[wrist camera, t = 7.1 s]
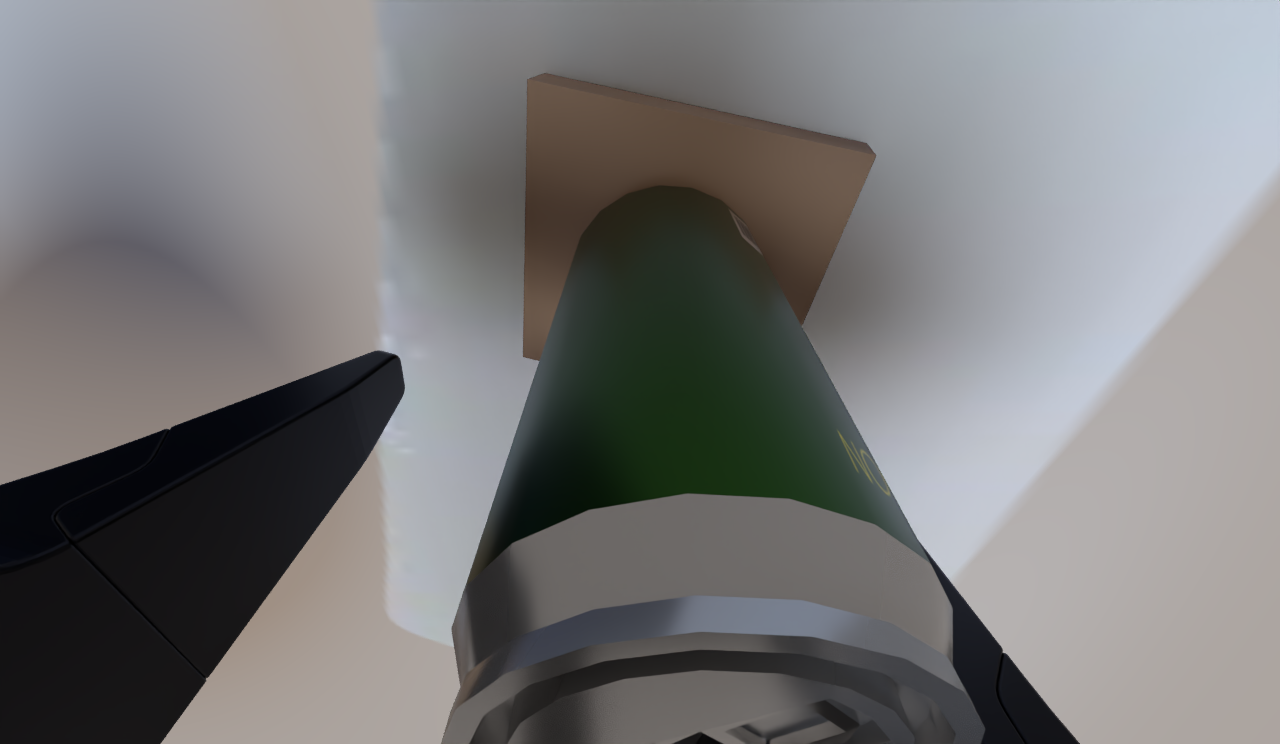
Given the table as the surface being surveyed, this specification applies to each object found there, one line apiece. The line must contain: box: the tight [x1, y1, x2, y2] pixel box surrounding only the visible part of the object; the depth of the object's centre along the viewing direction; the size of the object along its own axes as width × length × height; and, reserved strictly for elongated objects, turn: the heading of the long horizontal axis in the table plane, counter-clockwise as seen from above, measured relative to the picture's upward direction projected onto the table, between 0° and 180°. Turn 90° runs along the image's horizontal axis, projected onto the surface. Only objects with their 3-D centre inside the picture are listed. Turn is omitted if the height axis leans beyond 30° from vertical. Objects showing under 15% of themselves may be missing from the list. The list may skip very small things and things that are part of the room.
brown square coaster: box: [523, 73, 876, 361], centre depth 16 cm, size 9×9×2 cm
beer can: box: [441, 185, 985, 744], centre depth 10 cm, size 5×5×12 cm
